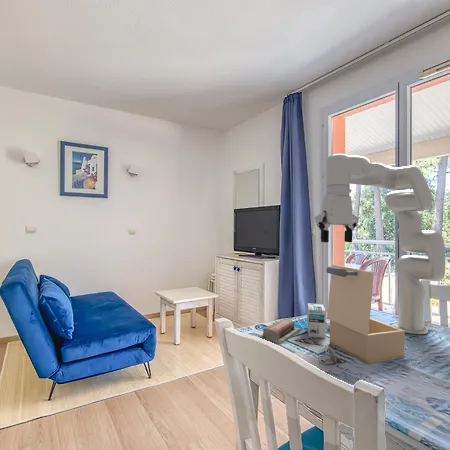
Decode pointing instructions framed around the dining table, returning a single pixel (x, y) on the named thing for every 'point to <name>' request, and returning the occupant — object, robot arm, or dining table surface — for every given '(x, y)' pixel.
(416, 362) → the dining table surface
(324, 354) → the dining table surface
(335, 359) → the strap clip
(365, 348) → the kraft carton
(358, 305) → the carton lid
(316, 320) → the light bulb box
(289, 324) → the packaged product
